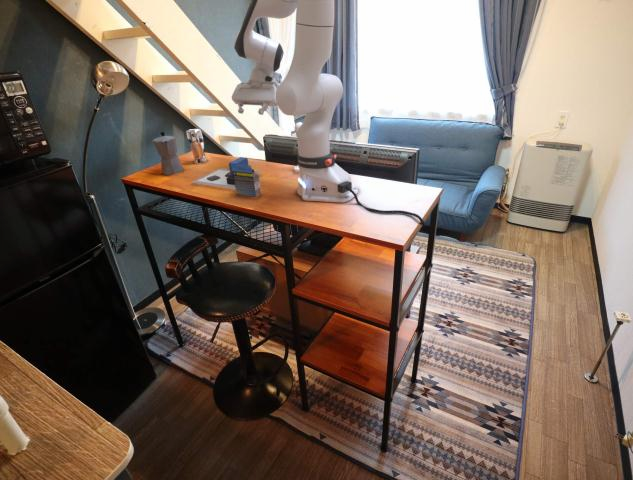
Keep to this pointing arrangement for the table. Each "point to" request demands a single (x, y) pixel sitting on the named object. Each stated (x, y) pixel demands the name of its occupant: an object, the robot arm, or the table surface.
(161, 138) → the coffeepot
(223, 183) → the whiteboard
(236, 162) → the eraser
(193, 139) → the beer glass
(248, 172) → the tape cartridge
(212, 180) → the scribble
